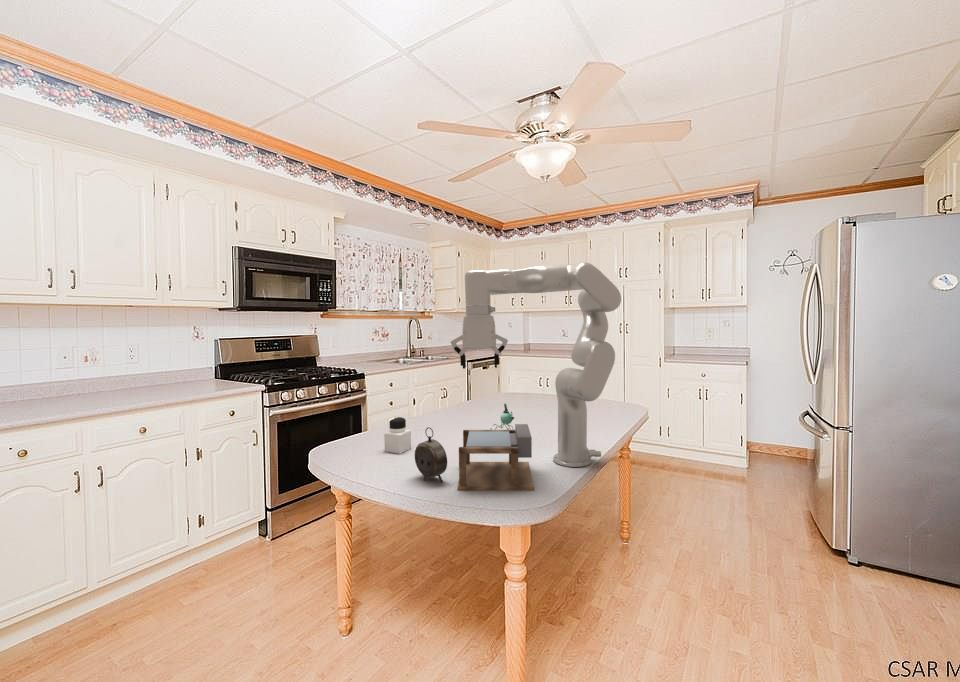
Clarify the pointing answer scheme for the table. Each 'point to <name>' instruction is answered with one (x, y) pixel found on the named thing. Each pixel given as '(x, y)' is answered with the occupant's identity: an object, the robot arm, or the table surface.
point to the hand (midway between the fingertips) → (480, 367)
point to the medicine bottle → (397, 436)
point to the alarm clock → (431, 458)
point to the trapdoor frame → (492, 469)
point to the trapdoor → (504, 439)
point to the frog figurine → (506, 418)
